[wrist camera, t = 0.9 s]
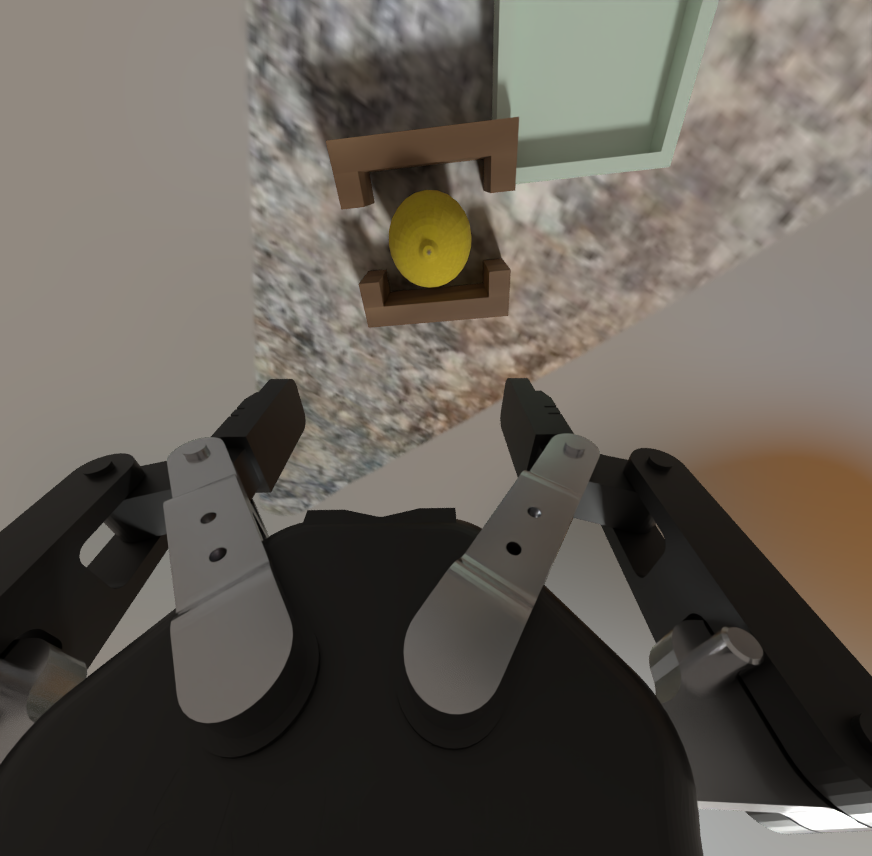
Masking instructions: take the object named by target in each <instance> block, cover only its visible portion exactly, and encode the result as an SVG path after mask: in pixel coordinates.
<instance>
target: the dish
mask: <svg viewBox="0 0 872 856" xmlns="http://www.w3.org/2000/svg"><path fill="white" fill-rule="evenodd" d="M718 1H719V0H494V27H493V85H492V120H496V119H504V118H512V117H519V131H518V149H517V166H516V184H521V183H530V182H539V181H548V180H557V179H566V178H575V177H584V176H593V175H602V174H611V173H620V172H629V171H638V170H647V169H656V168H665V167H670V164H671V161H672V158H673V154H674V151H675V147H676V144H677V141H678V137H679V134H680V130H681V127H682V124H683V120H684V117H685V113H686V110H687V107H688V103H689V100H690V96H691V93H692V90H693V86H694V83H695V79H696V76H697V73H698V69H699V66H700V63H701V59H702V56H703V52H704V49H705V46H706V42H707V39H708V35H709V32H710V29H711V25H712V22H713V18H714V15H715V12H716V8H717V5H718Z"/></svg>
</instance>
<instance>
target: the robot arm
mask: <svg viewBox="0 0 872 856" xmlns="http://www.w3.org/2000/svg"><path fill="white" fill-rule="evenodd" d="M500 419H501V420H500V421H501V428H502V431H503V434H504V437H505V440H506V443H507V446H508V449H509V452H510V455H511V458H512V461H513V464H514V467H515V470H516V473H517V476H518V478H517V480H516V481H515V483H514V484H513V486H512V487H511V489H510V490H509V491H508V493H507V494H506V496H505V497H504V498H503V500H502V502H501V503H500V504H499V505H498V507H497V508H496V510H495V511H494V513H493V514H492V515H491V517H490V518H489V520H488V521H487V523H486V524H485V525H484V527H483V528H480V527H478V526H476V525H474V524H472V523H469V522H466V521H462V520H458V519H456V512H455V508H419V509H415V510H411V511H406V512H402V513H398V514H393V515H389V516H384V517H376V516H372V515H367V514H362V513H357V512H352V511H348V510H308V511H307V513H306V516H305V519H304V522H303V523H299V524H296V525H293V526H290V527H287V528H285V529H283V530H280V531H278V532H277V533H275V534H273V535H271V536H270V537H269V535H268V533H267V530H266V528H265V525H264V523H263V521H262V519H261V516H260V514H259V511H258V509H257V507H256V504H255V502H254V500H253V499H252V498H253V496H254V495H255V493H262V492H272V490H273V488H274V486H275V484H276V482H277V480H278V478H279V476H280V474H281V473H282V471H283V469H284V467H285V465H286V463H287V461H288V459H289V457H290V455H291V454H292V452H293V450H294V448H295V446H296V444H297V442H298V440H299V438H300V436H301V435H302V433H303V431H304V428H305V413H304V410H303V406H302V403H301V399H300V396H299V393H298V389H297V386H296V383H295V381H294V380H293V379H270V380H269V381H268V382H267V383H266V384H265V385H264V387H263V388H262V389H261V390H260V391H259V392H256V393H254V394H253V395H251V396H249V397H248V398H246V399H244V401H243V402H242V403H241V404H240V405H239V406H238V407H237V410H235V411H234V412H233V413H232V414H231V417H228V418H227V419H226V420H225V422H224V423H223V424H222V425H221V426H220V427H219V428H218V429H217V430H216V432H215V433H214V434H213V435H212V436H211V437H205V438H199V439H195V440H192V441H190V442H187V443H185V444H183V445H181V446H179V447H178V448H176V449H175V450H174V451H173V452H172V453H171V454H170V455H169V456H168V458H167V461H164V462H160V463H155V464H150V465H144V466H140V465H139V464H138V463H137V461H136V460H135V459H134V458H133V456H131V455H129V454H121V453H120V454H113V455H107V456H104V457H101V458H98V459H95V460H92V461H90V462H88V463H86V464H84V465H82V466H81V467H79V468H77V469H76V470H75V471H73V472H72V473H71V474H70V475H68V476H67V477H66V478H65V479H64V480H62V481H61V482H60V483H59V484H58V485H56V486H55V487H54V488H53V489H52V490H50V491H49V492H48V493H47V494H45V495H44V496H43V497H42V498H41V499H39V500H38V501H37V502H36V503H35V504H34V505H32V506H31V507H30V508H29V509H28V510H26V511H25V512H24V513H23V514H21V515H20V516H19V517H18V518H17V519H15V520H14V521H13V522H12V523H11V524H9V525H8V526H7V527H6V528H4V529H3V530H2V531H1V532H0V856H703V850H702V844H701V837H700V824H699V812H698V809H714V810H733V811H734V810H735V811H745V812H746V813H747V814H748V815H750V816H751V817H752V818H753V819H755V820H756V821H757V822H758V823H760V824H761V825H763V826H765V827H766V828H768V829H770V830H772V831H775V832H778V833H782V834H808V833H832V832H858V831H872V676H871V675H870V674H869V673H868V672H867V671H866V669H865V668H864V667H863V666H862V665H861V664H860V663H859V661H858V660H857V659H856V658H855V657H854V656H853V655H852V654H851V653H850V651H849V650H848V649H847V648H846V647H845V646H844V645H843V643H841V641H840V640H839V639H838V638H837V637H836V636H835V634H834V633H833V632H832V631H831V630H830V629H829V628H828V627H827V626H826V624H825V623H824V622H823V621H822V620H821V619H820V618H819V616H818V615H817V614H816V613H815V612H814V611H813V610H812V609H811V607H810V606H809V605H808V604H807V603H806V602H805V601H804V600H803V599H802V598H801V596H800V595H799V594H798V593H797V592H796V591H795V589H794V588H793V587H792V586H791V585H790V584H789V583H788V581H787V580H786V579H785V578H784V577H783V576H782V575H781V574H780V573H779V571H778V570H777V569H776V568H775V567H774V566H773V565H772V563H771V562H770V561H769V560H768V559H767V558H766V557H765V556H764V554H763V553H762V552H761V551H760V550H759V549H758V548H757V547H756V545H755V544H754V543H753V542H752V541H751V540H750V539H749V538H748V536H747V535H746V534H745V533H744V532H743V531H742V530H741V529H740V527H739V526H738V525H737V524H736V523H735V522H734V521H733V520H732V518H731V517H730V516H729V515H728V514H727V513H726V512H725V511H724V509H723V508H722V507H721V506H720V505H719V504H718V503H717V501H716V500H715V499H714V498H713V497H712V496H711V495H710V494H709V493H708V491H707V490H706V489H705V488H704V487H703V486H702V485H701V483H699V481H698V480H697V479H696V478H695V477H694V476H693V474H692V473H691V472H690V471H689V470H688V469H687V468H686V467H685V465H684V464H683V463H681V462H680V461H679V460H678V459H676V458H675V457H673V456H671V455H669V454H667V453H665V452H662V451H660V450H656V449H651V448H640V449H637V450H634V451H633V452H632V454H631V455H630V457H629V460H625V459H620V458H615V457H611V456H606V455H602V454H600V451H599V449H598V447H597V446H596V445H595V444H594V443H593V442H592V441H590V440H588V439H587V438H585V437H582V436H579V435H575V434H574V433H573V432H572V430H571V428H570V427H569V425H568V424H567V422H566V421H565V419H564V417H563V416H562V414H560V411H559V410H558V408H556V405H555V403H554V402H553V400H552V398H551V397H549V396H548V395H546V394H545V393H544V392H542V391H535V390H534V388H533V386H532V384H531V383H530V381H529V379H528V378H508V379H507V380H506V383H505V389H504V396H503V402H502V409H501V417H500ZM573 518H577V519H580V520H585V521H588V522H593V523H597V524H600V525H601V526H602V528H603V530H604V532H605V535H606V537H607V539H608V541H609V543H610V545H611V548H612V549H613V552H614V554H615V556H616V558H617V561H618V563H619V564H620V567H621V569H622V571H623V573H624V575H625V578H626V580H627V582H628V584H629V586H630V588H631V590H632V593H633V595H634V597H635V599H636V601H637V603H638V605H639V607H640V610H641V612H642V614H643V616H644V618H645V620H646V623H647V624H648V627H649V629H650V631H651V633H652V635H653V637H654V640H655V642H656V644H655V645H654V646H653V647H652V649H651V651H650V656H649V664H650V670H651V673H652V676H653V679H654V683H655V689H656V695H655V694H654V693H653V691H652V690H651V689H650V688H649V686H648V685H647V684H646V683H645V682H644V681H643V680H642V679H641V678H640V676H639V675H638V674H637V673H636V672H635V671H634V670H633V669H632V668H631V667H629V666H628V665H627V664H626V663H625V662H624V661H623V660H622V659H621V658H620V657H619V656H618V655H617V654H616V653H615V652H614V651H613V650H612V649H611V648H610V647H609V646H608V645H607V644H605V643H604V642H603V641H602V640H601V639H600V638H599V637H598V636H597V635H596V634H595V633H594V632H593V631H592V630H591V629H590V628H589V627H588V626H587V625H586V624H585V623H584V622H583V621H581V620H580V619H579V618H578V617H577V616H576V615H575V614H574V613H573V612H572V611H571V610H570V609H569V608H568V607H567V606H566V605H565V604H564V603H563V602H562V601H561V600H560V599H558V598H557V597H556V596H555V595H554V594H553V593H552V592H551V591H550V590H549V589H548V588H547V587H546V586H545V585H544V584H545V582H546V579H547V577H548V575H549V572H550V570H551V568H552V566H553V563H554V561H555V559H556V556H557V554H558V552H559V549H560V547H561V545H562V542H563V540H564V538H565V536H566V533H567V531H568V529H569V526H570V524H571V522H572V520H573ZM103 522H104V523H105V524H106V525H107V526H108V527H109V528H110V529H111V530H112V531H113V532H114V533H115V535H114V536H113V537H112V539H111V540H110V541H109V542H108V543H107V544H106V546H105V547H104V548H103V549H102V550H101V551H100V553H99V554H98V555H97V556H96V557H95V558H94V560H93V561H92V562H91V563H90V564H89V565H88V567H87V568H86V567H85V566H84V565H83V564H82V563H81V562H80V558H79V555H80V550H81V548H82V546H83V544H84V543H85V541H86V540H87V539H88V538H89V537H90V536H91V535H92V534H93V533H94V532H95V531H96V530H97V529H98V527H99V526H100V525H101V524H102V523H103ZM655 524H657V525H658V527H659V528H660V530H661V532H662V533H663V535H664V538H665V539H664V538H663V536H662V535H661V533H660V532H659V530H658V529H657V527H656V525H655ZM168 548H169V555H170V564H171V572H172V579H173V588H174V596H175V604H176V609H174V610H173V611H172V612H170V613H169V614H168V615H167V616H165V617H164V618H163V619H161V620H160V621H159V622H158V623H156V624H155V625H154V626H152V627H151V628H150V629H149V630H147V631H146V632H145V633H144V634H142V635H141V636H140V637H138V638H137V639H136V640H134V641H133V642H132V643H131V644H129V645H128V646H127V647H126V648H124V649H123V650H122V651H120V652H119V653H118V654H116V655H115V656H114V657H113V658H111V659H110V660H109V661H107V662H106V663H105V664H104V665H102V666H101V667H100V668H99V669H97V670H96V671H95V672H93V673H92V674H91V675H90V676H88V677H87V678H86V676H87V669H88V668H89V666H90V665H91V663H92V662H93V660H94V659H95V657H96V656H97V654H98V653H99V651H100V650H101V648H102V647H103V645H104V644H105V642H106V641H107V639H108V638H109V636H110V635H111V633H112V632H113V630H114V629H115V627H116V626H117V624H118V623H119V621H120V620H121V618H122V617H123V615H124V614H125V612H126V611H127V609H128V608H129V606H130V605H131V603H132V602H133V600H134V599H135V597H136V596H137V594H138V593H139V591H140V590H141V588H142V587H143V585H144V584H145V582H146V581H147V579H148V578H149V576H150V575H151V573H152V572H153V570H154V569H155V567H156V566H157V564H158V563H159V561H160V560H161V558H162V557H163V555H164V554H165V552H166V551H167V550H168Z"/></svg>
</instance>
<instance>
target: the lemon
mask: <svg viewBox="0 0 872 856" xmlns="http://www.w3.org/2000/svg"><path fill="white" fill-rule="evenodd" d="M389 247H390V252H391V256H392V258H393V261H394V263H395V265H396V267H397V268H398V270H399V271H400V272H401V274H402V275H403V276H404V277H406V278H407V279H408V280H409V281H410V282H412V283H414V284H416V285H419V286H423V287H428V288H429V287H438V286H441V285H444V284H447V283H448V282H450V281H451V280H453V279H454V278H455V277H456V276H457V275H458V274H459V273H460V272H461V270H462V269H463V267H464V266H465V264H466V262H467V260H468V256H469V253H470V249H471V230H470V224H469V221H468V218H467V216H466V214H465V211H464V210H463V209H462V207H461V206H460V205H459V203H458V202H457V201H456V200H454V199H453V198H452V197H451V196H449V195H448V194H445V193H443V192H440V191H438V190H423V191H420V192H416V193H414V194H412V195H411V196H409V197H408V198H406V199H405V200H404V201H403V202H402V203H401V205H400V206H399V207H398V208H397V210H396V212H395V214H394V216H393V218H392V220H391V225H390V229H389Z"/></svg>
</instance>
